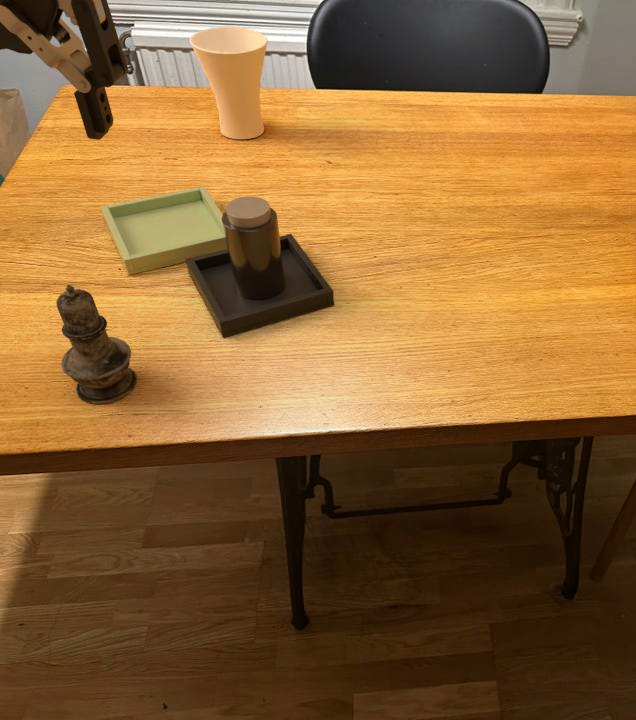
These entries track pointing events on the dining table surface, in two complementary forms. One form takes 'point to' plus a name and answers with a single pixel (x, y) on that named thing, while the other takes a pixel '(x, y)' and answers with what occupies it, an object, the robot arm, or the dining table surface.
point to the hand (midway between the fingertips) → (44, 128)
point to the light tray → (165, 228)
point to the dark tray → (244, 314)
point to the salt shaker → (93, 351)
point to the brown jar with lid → (254, 248)
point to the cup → (234, 76)
